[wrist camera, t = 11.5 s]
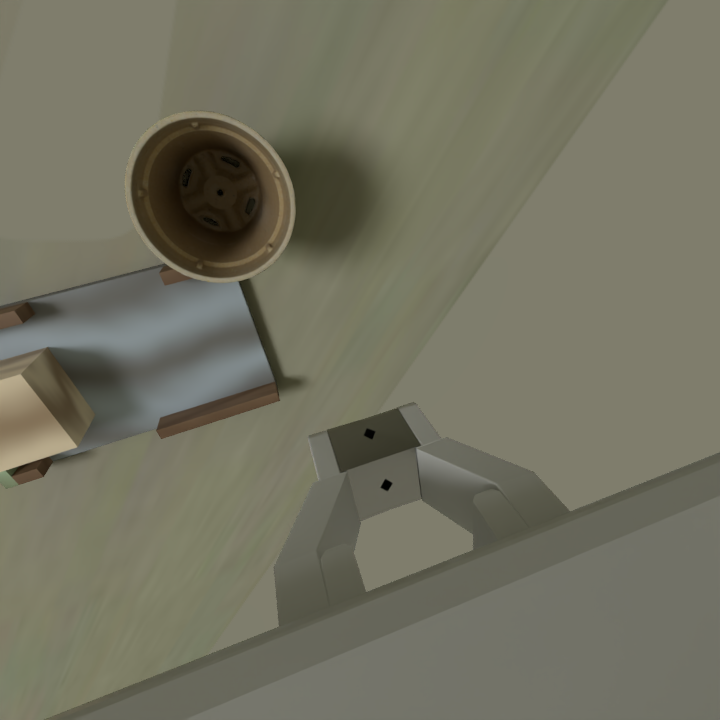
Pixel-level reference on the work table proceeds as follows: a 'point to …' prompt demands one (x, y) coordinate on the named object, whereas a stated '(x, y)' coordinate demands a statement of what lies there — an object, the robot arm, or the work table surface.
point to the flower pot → (210, 197)
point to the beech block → (38, 409)
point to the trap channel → (144, 354)
